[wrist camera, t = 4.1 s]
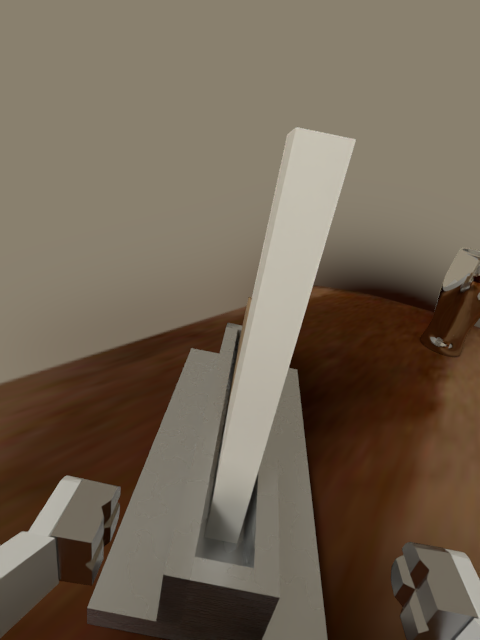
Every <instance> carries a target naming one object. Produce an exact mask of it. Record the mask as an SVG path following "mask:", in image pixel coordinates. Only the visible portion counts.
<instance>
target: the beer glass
mask: <svg viewBox="0 0 480 640" xmlns="http://www.w3.org/2000/svg"><path fill="white" fill-rule="evenodd" d="M479 318H480V250H476V249H471V248H460V250H459V252H458V254H457V255H456V257H455V259H454V261H453V262H452V264H451V266H450V268H449V270H448V272H447V274H446V276H445V278H444V281H443V283H442V286H441V289H440V293H439V297H438V301H437V304H436V308H435V312H434V315H433V318H432V320H431V322H430V324H429V326H428V327H427V328H426V330H425V331H424V332H423V334H422V335H421V337H420V341H421V343H422V344H423V345H425V346H426V347H427V348H429V349H431V350H432V351H435V352H437V353H439V354H442V355H446V356H451V357H457V356H459V355H460V354H461V352H462V349H463V345H464V342H465V339H466V337H467V335H468V333H469V331H470V330H471V328H472V327H473V326H474V325H475V323H476V322H477V321H478V320H479Z"/></svg>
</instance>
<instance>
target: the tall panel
mask: <svg viewBox="0 0 480 640" xmlns="http://www.w3.org/2000/svg"><path fill="white" fill-rule="evenodd" d="M355 141H356V140H355V139H351V138H346V137H341V136H337V135H332V134H327V133H322V132H317V131H312V130H308V129H303V128H298V127H296V128H295V129H294V130H292V131H291V132H290V133H289V134H288V135H287V138H286V143H285V148H284V152H283V157H282V162H281V166H280V171H279V175H278V180H277V184H276V189H275V194H274V198H273V203H272V207H271V212H270V217H269V221H268V226H267V231H266V235H265V240H264V244H263V250H262V254H261V258H260V263H259V268H258V272H257V277H256V281H255V286H254V291H253V296H252V300H251V304H250V309H249V314H248V318H247V323H246V328H245V332H244V337H243V341H242V346H241V351H240V355H239V360H238V365H237V369H236V374H235V378H234V383H233V388H232V392H231V397H230V401H229V406H228V411H227V415H226V420H225V425H224V429H223V434H222V438H221V444H220V450H219V455H218V461H217V467H216V473H215V478H214V484H213V490H212V496H211V501H210V507H209V513H208V518H207V524H206V530H205V536H204V537H206V538H211V539H216V540H221V541H226V542H231V543H236V544H237V542H238V538H239V535H240V532H241V528H242V525H243V521H244V518H245V515H246V511H247V508H248V504H249V501H250V498H251V494H252V491H253V487H254V484H255V481H256V477H257V474H258V470H259V467H260V464H261V460H262V457H263V453H264V450H265V447H266V443H267V440H268V436H269V433H270V430H271V426H272V423H273V419H274V416H275V413H276V409H277V406H278V402H279V399H280V396H281V392H282V389H283V385H284V382H285V379H286V375H287V372H288V368H289V365H290V362H291V358H292V355H293V351H294V348H295V345H296V341H297V338H298V334H299V331H300V328H301V324H302V321H303V317H304V314H305V311H306V307H307V304H308V300H309V297H310V294H311V290H312V287H313V283H314V280H315V277H316V273H317V270H318V266H319V263H320V260H321V256H322V253H323V249H324V246H325V242H326V239H327V236H328V232H329V229H330V226H331V222H332V219H333V215H334V212H335V209H336V205H337V202H338V198H339V195H340V192H341V188H342V185H343V181H344V178H345V175H346V171H347V168H348V164H349V161H350V157H351V154H352V151H353V147H354V144H355Z"/></svg>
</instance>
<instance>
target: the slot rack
mask: <svg viewBox="0 0 480 640" xmlns="http://www.w3.org/2000/svg"><path fill="white" fill-rule="evenodd" d="M241 331H242V326H241V325H236V324H231V323H227V327H226V331H225V335H224V339H223V342H222V346H221V350H220V354H217V353H212V352H208V351H203V350H198V349H193V348H191V351H190V353H189V356H188V358H187V361H186V363H185V366H184V368H183V371H182V373H181V376H180V378H179V381H178V383H177V386H176V388H175V391H174V393H173V396H172V398H171V401H170V403H169V406H168V408H167V411H166V413H165V416H164V418H163V421H162V423H161V426H160V428H159V431H158V433H157V436H156V438H155V440H154V443H153V445H152V448H151V450H150V453H149V455H148V458H147V460H146V463H145V465H144V468H143V470H142V473H141V475H140V478H139V480H138V483H137V485H136V488H135V490H134V493H133V495H132V498H131V500H130V503H129V505H128V508H127V510H126V513H125V515H124V518H123V520H122V523H121V525H120V528H119V530H118V533H117V535H116V538H115V540H114V543H113V545H112V548H111V550H110V553H109V555H108V558H107V560H106V563H105V565H104V568H103V570H102V572H101V575H100V577H99V580H98V582H97V585H96V587H95V590H94V592H93V595H92V597H91V600H90V602H89V605H88V607H87V624H92V625H97V626H102V627H107V628H113V629H118V630H123V631H128V632H133V633H138V634H143V635H148V636H154V637H159V638H164V639H169V640H328V639H327V631H326V622H325V613H324V604H323V595H322V586H321V577H320V568H319V559H318V550H317V541H316V532H315V524H314V515H313V506H312V497H311V488H310V479H309V470H308V461H307V452H306V443H305V434H304V425H303V417H302V408H301V399H300V390H299V381H298V372H297V369H292V368H288V372H287V375H286V379H285V382H284V385H283V389H282V392H281V396H280V399H279V402H278V406H277V409H276V413H275V416H274V419H273V423H272V426H271V430H270V433H269V436H268V440H267V443H266V447H265V450H264V453H263V457H262V460H261V464H260V467H259V470H258V474H257V477H256V481H255V484H254V487H253V491H252V494H251V498H250V501H249V504H248V508H247V511H246V515H245V518H244V521H243V525H242V528H241V532H240V535H239V538H238V542H237V544H236V543H231V542H226V541H221V540H216V539H211V538H206V537H204V536H205V530H206V524H207V518H208V513H209V507H210V501H211V496H212V490H213V484H214V478H215V473H216V467H217V461H218V455H219V450H220V444H221V438H222V432H223V426H224V421H225V415H226V409H227V404H228V398H229V393H230V387H231V381H232V375H233V370H234V364H235V359H236V355H237V350H238V345H239V340H240V336H241Z"/></svg>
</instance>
